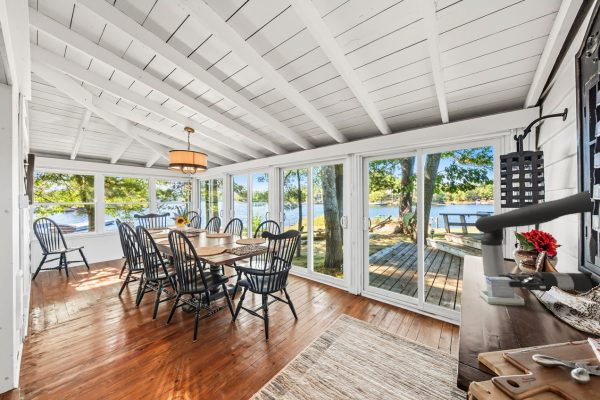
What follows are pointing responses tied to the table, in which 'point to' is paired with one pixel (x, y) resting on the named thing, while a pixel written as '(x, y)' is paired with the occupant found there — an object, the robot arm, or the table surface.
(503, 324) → the table surface
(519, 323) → the table surface
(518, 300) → the tray
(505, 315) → the table surface
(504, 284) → the medicine box
